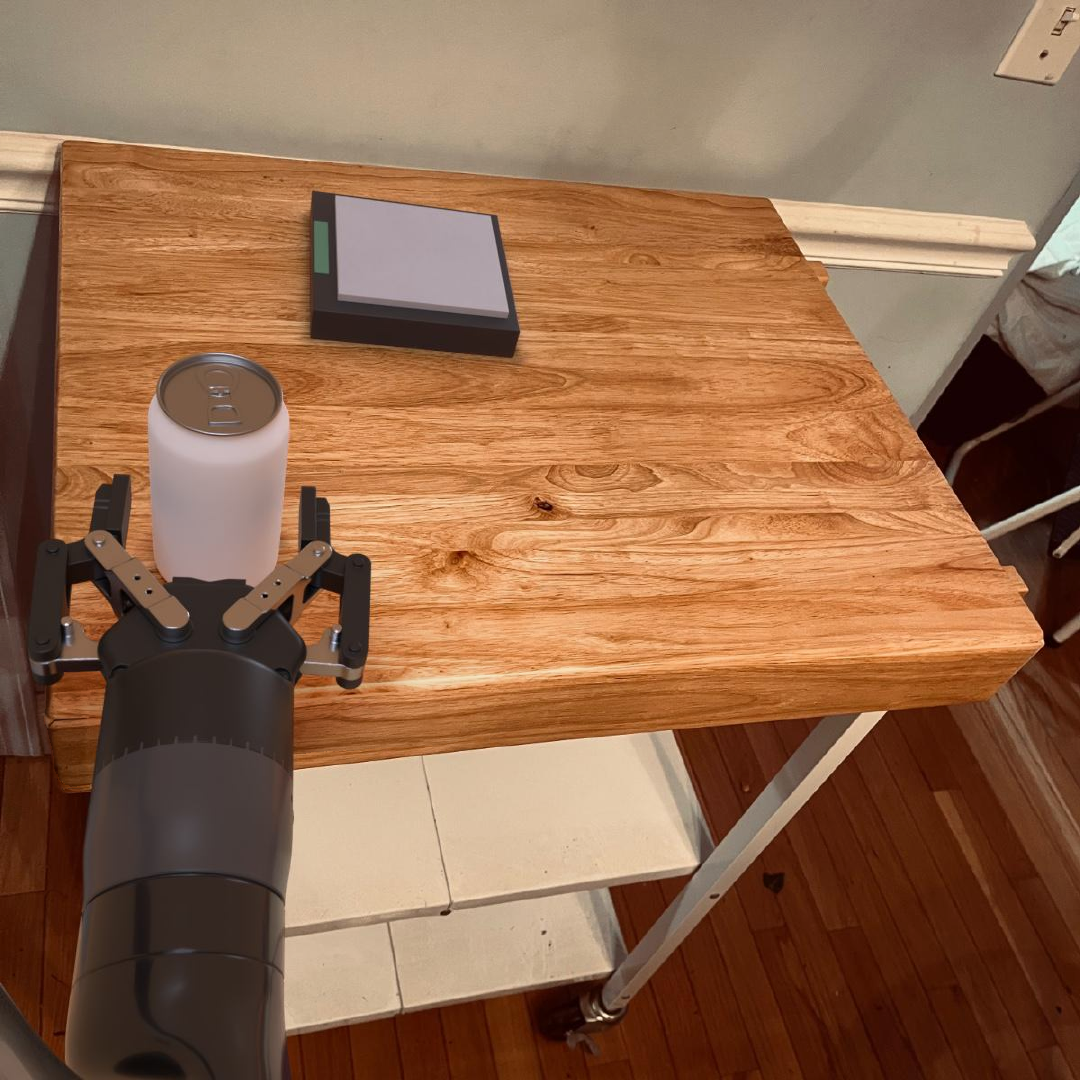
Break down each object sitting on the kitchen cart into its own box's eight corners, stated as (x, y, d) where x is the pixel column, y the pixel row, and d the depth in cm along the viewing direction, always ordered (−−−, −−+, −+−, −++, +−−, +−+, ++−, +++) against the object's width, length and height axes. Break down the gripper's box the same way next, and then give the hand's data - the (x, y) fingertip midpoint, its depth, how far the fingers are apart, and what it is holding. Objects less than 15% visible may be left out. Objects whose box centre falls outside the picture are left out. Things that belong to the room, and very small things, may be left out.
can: (269, 508, 61) (281, 345, 52) (286, 598, 57) (302, 438, 48) (148, 516, 59) (140, 346, 50) (158, 610, 55) (151, 444, 46)
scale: (310, 338, 71) (313, 302, 69) (309, 218, 80) (312, 182, 78) (513, 358, 75) (522, 324, 73) (491, 241, 84) (499, 208, 82)
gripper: (390, 749, 41) (373, 447, 51) (-23, 750, 37) (49, 423, 47) (367, 836, 46) (356, 547, 56) (5, 845, 42) (64, 533, 53)
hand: (216, 491), depth 52 cm, fingers open, 8 cm apart
